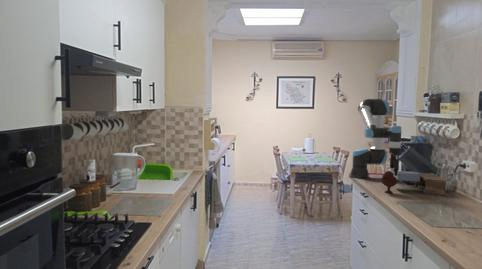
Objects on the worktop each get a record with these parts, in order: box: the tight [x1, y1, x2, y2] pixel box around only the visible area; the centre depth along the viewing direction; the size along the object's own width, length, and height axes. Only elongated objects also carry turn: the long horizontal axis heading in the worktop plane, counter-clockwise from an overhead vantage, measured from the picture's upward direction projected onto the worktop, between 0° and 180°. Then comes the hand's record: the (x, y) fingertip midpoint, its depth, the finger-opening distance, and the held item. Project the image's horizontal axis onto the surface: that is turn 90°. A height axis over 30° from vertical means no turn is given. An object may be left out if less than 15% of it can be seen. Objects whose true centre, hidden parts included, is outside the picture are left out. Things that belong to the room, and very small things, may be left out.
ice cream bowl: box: [380, 170, 399, 195], centre depth 254 cm, size 11×11×15 cm
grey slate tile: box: [391, 170, 420, 182], centre depth 266 cm, size 10×18×5 cm, turn 80°
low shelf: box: [414, 172, 447, 196], centre depth 263 cm, size 26×12×10 cm, turn 170°
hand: (393, 178), depth 267 cm, fingers closed on grey slate tile, 10 cm apart
